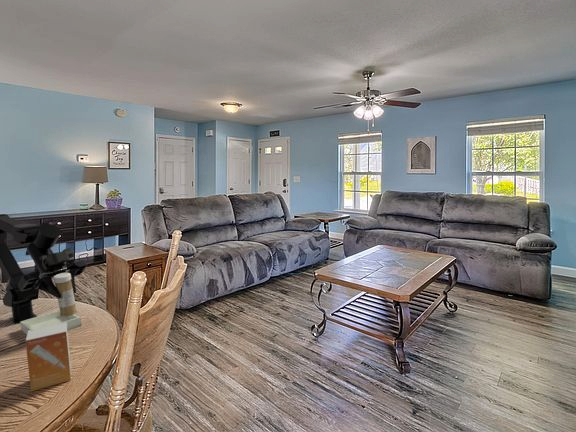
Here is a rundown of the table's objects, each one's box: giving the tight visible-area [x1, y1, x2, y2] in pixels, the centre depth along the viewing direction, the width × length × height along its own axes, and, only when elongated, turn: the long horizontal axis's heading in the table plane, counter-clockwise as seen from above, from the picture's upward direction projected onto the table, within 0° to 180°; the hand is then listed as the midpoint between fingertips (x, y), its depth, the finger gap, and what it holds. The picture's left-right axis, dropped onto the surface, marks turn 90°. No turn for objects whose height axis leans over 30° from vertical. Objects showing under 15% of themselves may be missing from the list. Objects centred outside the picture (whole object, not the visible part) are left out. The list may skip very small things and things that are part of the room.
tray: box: [20, 309, 82, 335], centre depth 111 cm, size 13×13×3 cm
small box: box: [25, 322, 72, 392], centre depth 82 cm, size 8×6×13 cm
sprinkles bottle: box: [52, 273, 77, 317], centre depth 106 cm, size 5×5×14 cm
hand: (67, 295), depth 105 cm, fingers closed on sprinkles bottle, 4 cm apart
